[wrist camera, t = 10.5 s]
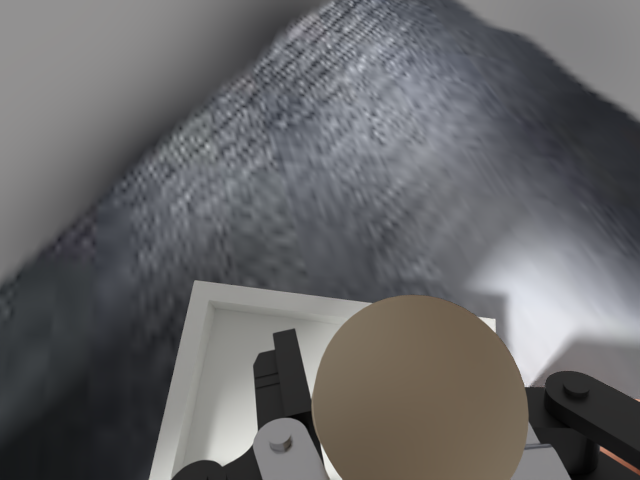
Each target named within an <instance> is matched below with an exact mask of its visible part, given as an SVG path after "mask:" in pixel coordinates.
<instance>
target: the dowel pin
mask: <svg viewBox="0 0 640 480" xmlns="http://www.w3.org/2000/svg"><path fill="white" fill-rule="evenodd" d="M311 400H312V403H311V409H312V419H313V425H314V428H315V432H316V435H317V437H318V439H319V441H320V443H321V445H322V447H323V449H324V451H325V453H326V455H327V457H328V459H329V461H330V462H331V464H332V465H333V467H334V469H335V470H336V472H337V473H338V475H339V476H340V477H341V478H342V479H343V480H510V479H511V477H512V476H513V474H514V473H515V471H516V469H517V467H518V464H519V462H520V460H521V458H522V454H523V451H524V448H525V444H526V439H527V432H528V415H529V414H528V403H527V396H526V391H525V387H524V383H523V380H522V377H521V374H520V371H519V369H518V367H517V365H516V363H515V361H514V358H513V357H512V355H511V353H510V352H509V350H508V349H507V347H506V345H505V344H504V343H503V342H502V340H501V339H500V338H499V337H498V335H497V334H496V333H495V332H494V331H493V330H492V329H491V328H490V327H489V326H488V325H487V324H486V323H485V322H483V321H482V320H481V319H480V318H478V317H477V316H476V315H474V314H473V313H471V312H470V311H468V310H466V309H465V308H463V307H461V306H459V305H456V304H454V303H452V302H449V301H446V300H443V299H440V298H436V297H431V296H424V295H401V296H395V297H390V298H386V299H383V300H380V301H377V302H375V303H373V304H371V305H369V306H367V307H365V308H363V309H362V310H360V311H359V312H357V313H356V314H354V315H353V316H352V317H351V318H349V319H348V320H347V321H346V322H345V323H344V324H343V325H342V326H341V327H340V329H339V330H338V331H337V332H336V333H335V335H334V336H333V338H332V339H331V341H330V342H329V344H328V345H327V348H326V350H325V352H324V354H323V356H322V358H321V361H320V364H319V368H318V371H317V375H316V379H315V384H314V389H313V393H312V398H311Z"/></svg>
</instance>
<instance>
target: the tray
mask: <svg viewBox="0 0 640 480" xmlns="http://www.w3.org/2000/svg"><path fill="white" fill-rule="evenodd" d="M371 304H373V303H367V302H359V301H352V300H344V299H336V298H329V297H321V296H313V295H305V294H298V293H290V292H282V291H275V290H267V289H259V288H251V287H244V286H236V285H228V284H221V283H213V282H205V281H197V280H194V284H193V289H192V293H191V298H190V302H189V306H188V311H187V315H186V319H185V324H184V328H183V333H182V337H181V341H180V346H179V350H178V355H177V359H176V363H175V368H174V372H173V376H172V381H171V385H170V390H169V394H168V398H167V403H166V407H165V412H164V416H163V420H162V425H161V429H160V433H159V438H158V442H157V447H156V451H155V455H154V460H153V464H152V469H151V473H150V477H149V480H172V478H173V477H174V476H175V475H176V473H178V472H179V471H180V470H181V469H182V468H184V467H185V466H187V465H189V464H191V463H193V462H196V461H200V460H212V461H215V462H217V463H219V464H220V465H221V466H222V467H223V466H224V465H226V464H228V463H230V462H232V461H234V460H235V459H237V458H239V457H240V456H242V455H243V454H244V453H245V452H246V451H247V450H248V449H249V448H250V447H251V446H252V444H253V441H254V438H255V436H256V434H257V432H258V426H257V413H256V400H255V387H254V373H253V364H254V362H255V360H256V358H257V356H258V354H259V353H262V352H266V351H270V350H275V347H274V340H273V333H276V332H280V331H285V330H289V329H293V328H295V330H296V335H297V339H298V343H299V348H300V352H301V357H302V361H303V365H304V370H305V374H306V378H307V383H308V387H309V391H310V396H311V398H312V393H313V389H314V384H315V379H316V375H317V371H318V368H319V364H320V361H321V358H322V356H323V354H324V352H325V350H326V348H327V345H328V344H329V342H330V341H331V339H332V338H333V336H334V335H335V333H336V332H337V331H338V330H339V329H340V327H341V326H342V325H343V324H344V323H345V322H346V321H347V320H348V319H349V318H351V317H352V316H353V315H354V314H356V313H357V312H359V311H360V310H362V309H363V308H365V307H367V306H369V305H371ZM478 318H480V319H481V320H482V321H483V322H485V323H486V324H487V325H488V326H489V327H490V328H491V329H492V330H493V331H494V332H495V333H496V319H490V318H483V317H478ZM320 444H321V443H320ZM321 450H322V455H323V460H324V465H325V469H326V472H327V474H328V476H329V478H330V480H343V479H342V478H341V477H340V476H339V475H338V473H337V472H336V470H335V469H334V467H333V465H332V464H331V462H330V461H329V459H328V457H327V455H326V453H325V451H324V449H323V447H322V445H321Z"/></svg>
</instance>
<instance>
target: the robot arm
mask: <svg viewBox="0 0 640 480" xmlns="http://www.w3.org/2000/svg"><path fill="white" fill-rule="evenodd" d="M273 340H274V347H275V350H270V351H266V352H262V353H259V354H258V356H257V358H256V360H255V362H254V364H253V373H254V387H255V400H256V413H257V426H258V432H257V434H256V436H255V438H254V441H253V444H252V446H251V447H250V448H249V449H248V450H247V451H246V452H245V453H244V454H243V455H242V456H240V457H239V458H237V459H235V460H234V461H232V462H230V463H228V464H226V465H224V466H223V467H222V466H221V465H220V464H219V463H217V462H215V461H212V460H200V461H196V462H193V463H191V464H189V465H187V466H185V467H184V468H182V469H181V470H180V471H179V472H178V473H176V475H175V476H174V477H173V478H172V480H330V478H329V476H328V474H327V472H326V469H325V465H324V460H323V455H322V450H321V444H320V441H319V439H318V437H317V435H316V432H315V428H314V425H313V419H312V409H311V403H312V400H311V396H310V391H309V387H308V383H307V378H306V374H305V370H304V365H303V361H302V357H301V352H300V348H299V343H298V339H297V335H296V330H295V328H293V329H289V330H285V331H280V332H276V333H273ZM525 391H526V396H527V403H528V414H529V415H528V432H527V439H526V444H525V448H524V451H523V454H522V458H521V460H520V462H519V464H518V467H517V469H516V471H515V473H514V474H513V476H512V477H511V479H510V480H640V475H638V474H637V473H635V472H634V471H632V470H630V469H629V468H627V467H626V466H624V465H622V464H621V463H619V462H618V461H616V460H614V459H613V458H611V457H610V456H608V455H607V454H605V453H603V452H602V451H600V446H601V447H603V448H605V449H606V450H608V451H609V452H611V453H613V454H614V455H616V456H617V457H619V458H621V459H622V460H624V461H625V462H627V463H629V464H630V465H632V466H633V467H635V468H637V469H638V470H640V402H639V401H637V400H635V399H633V398H631V397H629V396H627V395H625V394H623V393H622V392H620V391H618V390H616V389H614V388H612V387H610V386H608V385H606V384H604V383H602V382H600V381H598V380H596V379H594V378H592V377H590V376H588V375H586V374H583V373H579V372H574V371H561V372H557V373H554V374H552V375H550V376H549V377H548V378H547V380H546V383H545V387H525Z"/></svg>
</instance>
